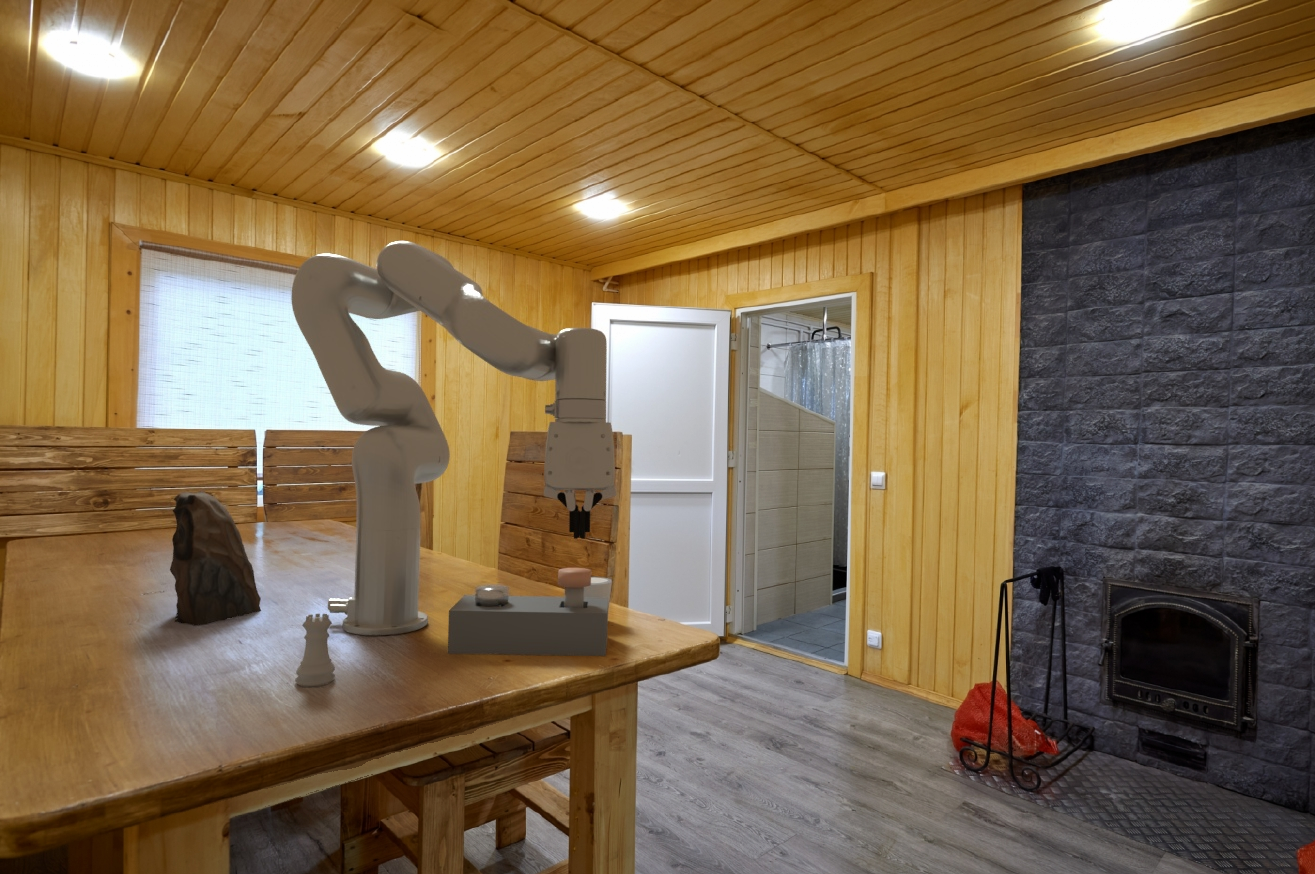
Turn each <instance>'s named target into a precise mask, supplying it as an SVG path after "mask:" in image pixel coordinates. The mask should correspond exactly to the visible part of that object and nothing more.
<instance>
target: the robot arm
mask: <svg viewBox="0 0 1315 874" xmlns="http://www.w3.org/2000/svg"><path fill="white" fill-rule="evenodd" d="M290 295H291V298H290V299H291V306H292V307H291V308H292V312H293V316H294V318H295V321H296V323H297V326H298V329H299V330H300V332H301V334H302V336H303V338H304V339H305V341H306V344H307V345H308V347H309V348H310V350H311V352H312V354H313V355H314V358H315V361H316V362H317V366H318V368H319V371H320V372H321V374H322V377H323V379H324V381H325V384H326V386H327V388H328V390H329V392H330V394H331V396H332V399H333V401H334V403H335V406H336V408H337V409H338V412H339V413H340V415H341V416H342V417H343V419H344V420H346V421H348V422H349V423H352V424H355V425H362V426H373V428H370V429H368V430H366V431H365V432H363V433H362V434H361V435H360V436H359V437H358V438H357V440H356V441H355V443H354V446H353V448H352V453H351V467H352V474H353V478H354V486H355V494H356V497H355V498H356V524H355V525H356V526H355V527H356V531H355V532H356V541H355V565H354V567H355V569H354V595H353V596H351V597H349V598H347V599H345V598H344V599H343V598H329V599H328V602H327V611H329V613H330V614H341V613H343V614H344V615H346V617H345V618H344V619H342V629H343V630H344V631H345V632H347V633H351V634H353V635H361V636H390V635H397V634H398V635H400V634H406V633H410V632H414V631H417V630H420V629H422V628H424V627H425V626H427V625H428V622H429V620H428V619H429V616H428V614H427V613H425V612H423V611H420V610H419V593H420V592H419V589H420V587H419V586H420V564H421V563H420V562H421V560H420V559H421V557H420V555H421V554H420V553H421V521H422V518H421V517H422V515H421V513H422V512H421V504H420V500H419V496H418V492H417V489H416V484H424V483H429V482H433V481H436V480H437V479H438V478H440V477H442V475H443V474H444V473H445V472H446V470H447V469H448V466H449V464H450V453H451V452H450V447H449V444H448V440H447V437H446V435H445V432H444V431H443V428H442V427H441V425H440V422H439V421H438V418H437V416H436V414H435V412H434V410H433V408H432V406H431V404H430V402H429V399H428V397H427V395H426V393H425V392H424V390H423V388H422V387H421V385H420V384H419V383H418V382H417V381H416V380H415V379H414V378H413V377H411V376H410V375H408V374H406V373H404V372H402V371H396V370H393V369H392V370H390V369H387V368H385V367H384V366H383V365H382V364H381V363H380V361H379V359H378V358H377V356H376V354H375V353H374V351H373V349H372V346H371V343H370V342H369V339H368V338H367V336H366V334H365V333H364V332H363V330H362V329H361V328H360V326H359V325H358V324H357V322H355V320H354V319H353V318H352V317H351V314H352V315H355V316H359V317H363V318H366V319H370V320H371V319H373V320H383V319H389V318H395V317H398V316H403V315H408V314H411V313H412V314H413V313H416V312H421V313H422V314H424V315H426V316H427V317H428V318H430V319H432V320H433V321H434V322H436V323H437V324H439V325H440V326H441V327H443V328H444V329H445V330H446V332H447V333H449V334H450V335H451V336H452V338H454V339H455V340H456V341H457V342H458V343H459V344H460V345H462V346H463V347H465V348H466V349H467V350H469V351H470V352H472V354H473V355H476V356H477V357H478V358H479V359H482V360H483V361H484V362H486V363H487V364H488V365H490V366H491V367H493V368H495V369H496V370H498V371H500V372H501V373H504V374H506V375H508V376H509V375H510V376H513V377H517V378H523V379H526V380H530V381H535V382H547V381H553V380H555V382H554V386H555V387H554V393H555V394H554V396H555V400H554V402H553V403H551V404H545V406H544V414H546V415H550V416H553V417H554V421H550V422H549V424H548V429H547V434H546V441H545V454H544V455H545V456H544V472H543V473H544V474H543V475H544V485H545V486H544V489H543V497H545V498H550V499H553V500H557V501H559V502H560V503H561V504H562V505H563V506H564V507H565V508H566V509H567V510H568V511H569V512H568V513H569V516H568V517H569V519H568V520H569V521H568V522H569V523H568V524H569V525H568V527H569V529H568V530H569V532H568V533H573V539H578V538H579V539H586V537H587V536H586V533H591V510H593V508H594V507H595V506H596V505H597V504H598V503H600V502H601V501H603V500H607V499H611V498H615V497H616V495H617V488H616V485H615V476H616V467H615V465H616V464H615V461H616V460H615V458H616V457H615V442H614V434H613V427H612V423H611V422H609V421H607V364H608V363H607V359H608V358H607V355H608V354H607V353H608V352H607V346H608V345H607V343H608V342H607V338H606V335H605V334H604V333H603V331H601V330H598V329H595V328H589V327H568V328H565V329H564V328H563V329H562V330H560V331H558V333H557V334H555V333H548V332H546V331H543V330H540V329H537V328H535V327H533V326H530V325H527V324H525V323H523V322H521V321H519V320H518V319H516V318H515V317H513V316H511V314H509V313H507V312H505V311H504V310H503V309H501V308H499V307H498V306H496V305H495V304H494V303H493V302H491V301H489V300H488V299H487V298H486V297H485V296H483V295H484V294H483V290H482V287H481V285H480V284H478V283H477V282H476V281H475V280H473V279H471V278H469V277H468V276H467V275H465V274H463V273H462V272H460V271H459V270H457V269H456V268H455V267H454V265H452V263H451V262H450V261H449V259H447V258H445V257H444V256H442V255H441V254H438V253H436V252H434V251H432V250H430V249H427V248H426V247H424V246H422V245H420V244H418V243H415V242H412V241H407V240H398V241H394V242H390V243H389V244H387V245H385V246H384V247H383V248H382V249H381V250H380V252H379V254H378V256H377V257H376V268H375V267H373V266H370V265H367V264H365V263H362V262H360V261H357V260H354V259H352V258H349V257H346V256H342V255H339V254H334V253H333V254H332V253H320V254H316V255H313V256H311V257H309V258H307V259H306V260H305V261H303V263H301V265H300V266H299V268H298V270H297V272H296V273H295V276H294V279H293V282H292V287H291V294H290ZM374 426H375V427H374ZM575 491H585V494H584V495H585V496H584V503H583V505H582V506H581V510H580V509H579V505H578V504H577V498H576V492H575ZM595 491H597V492H595Z"/></svg>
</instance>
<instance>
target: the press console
mask: <svg viewBox="0 0 1315 874" xmlns="http://www.w3.org/2000/svg"><path fill="white" fill-rule="evenodd" d="M564 599H565V596H543V595H542V596H537V595H536V596H533V595H509V601H508V603H506V604H502V605H501V606H482V605H479V604H476V603H475V594H464V595H462V597H461V598H459V600H458V601H457V602H456V603H455V604H454V605H453V606H452V607H450V609H449V610H448V629H447V634H448V635H447V654H449V655H450V654H451V655H453V654H454V655H458V654H459V655H463V654H464V655H505V656H506V655H513V656H514V655H515V656H517V655H518V656H519V655H520V656H575V657H578V656H579V657H580V656H581V657H583V656H585V657H586V656H587V657H607V645H608V628H609V627H608V626H609V625H608V623H609V621H608V620H609V611H608V598H598V597H584V602H583V608H564Z"/></svg>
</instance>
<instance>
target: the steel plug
mask: <svg viewBox="0 0 1315 874" xmlns="http://www.w3.org/2000/svg"><path fill="white" fill-rule="evenodd" d="M474 589H475V590H474V593H475V594H474V595H475V603H476V604H479V605H482V606H501V605H502V604H506V603H508V601H509V596H510V594H509V593H510V588H509V586H508V585H505V584H504V585H503V584H483V585H479V586H476V587H475V588H474Z"/></svg>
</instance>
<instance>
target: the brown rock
mask: <svg viewBox="0 0 1315 874" xmlns="http://www.w3.org/2000/svg"><path fill="white" fill-rule="evenodd" d="M173 500H174V501H175V507H174V508H173V509H172V512H173V513H174V517H175V520H176V527H175V531H174V533H173V536H172V539H171V540H172V546H173V550H172V559H171V560H172V561H171V564H170V568H169V571H170V573H171V575H172V576H173V578H174V580H175V584H174V591H175V593H176V598H177V599H176V600H177V601H176V605H175V606H176V616H175V617H174V618H175V620H174V622H175V623H178V624H182V625H183V624H184V625H185V624H186V625H191V626H193V627H194V626H195V627H196V626H197V627H198V626H204V625H209V624H213V623H217V622H222V621H226V620H229V619H234V618H237V617H244V616H248V615H251V614H254V613H258V612H262V609H261V606H260V605H261V597H260V594H259V591H258V589H257V583H256V578H255V571H254V568H253V567H254V566H253V564H252V563H251V562H250V560H249V558H248V554H247V552H246V550H245V545H244V542H243V538H242V536H241V532H240V530H239V529H238V528H237V525H236V524H235V520H234V519H233V517H232V515H231V514H230V512H229V511H228V509H227V508H226V507H225V505H223V504H222V503H221V502H220V501H219V500H218V499H217V497H215V496H213V495H212V494H209V493H206V491H204V490H200V491H199V492H198V491H196V492H191V491H183V492H179V493H178V494H177V495H176V496H175V497H174V499H173Z"/></svg>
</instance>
